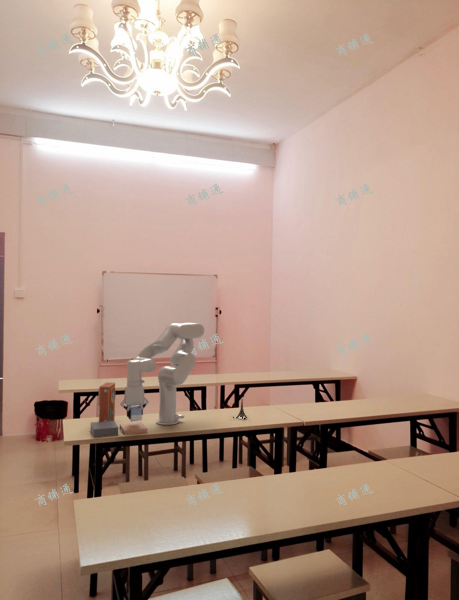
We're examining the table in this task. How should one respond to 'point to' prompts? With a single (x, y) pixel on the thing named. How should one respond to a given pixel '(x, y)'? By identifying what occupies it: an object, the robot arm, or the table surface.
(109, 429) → the charcoal stand
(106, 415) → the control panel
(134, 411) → the housing
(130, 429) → the terracotta stand
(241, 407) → the eiffel tower figurine
